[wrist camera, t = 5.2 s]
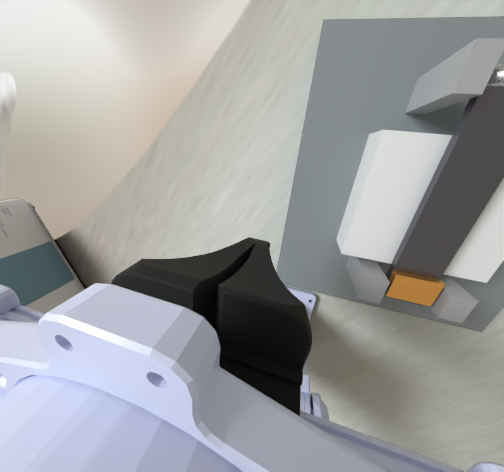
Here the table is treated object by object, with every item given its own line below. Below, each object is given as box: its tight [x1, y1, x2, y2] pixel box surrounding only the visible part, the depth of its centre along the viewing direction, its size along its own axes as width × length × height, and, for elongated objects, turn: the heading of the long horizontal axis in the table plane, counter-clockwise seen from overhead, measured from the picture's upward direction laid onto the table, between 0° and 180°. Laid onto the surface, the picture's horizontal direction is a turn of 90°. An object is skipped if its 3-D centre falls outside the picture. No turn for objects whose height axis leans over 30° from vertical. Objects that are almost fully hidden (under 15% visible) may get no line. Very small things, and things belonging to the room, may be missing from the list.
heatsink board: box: [276, 16, 504, 332], centre depth 14 cm, size 22×20×6 cm
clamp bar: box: [383, 65, 504, 306], centre depth 12 cm, size 14×3×1 cm, turn 174°
